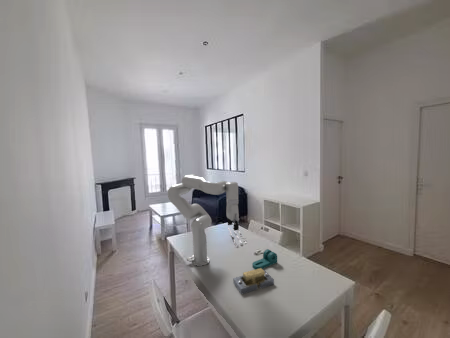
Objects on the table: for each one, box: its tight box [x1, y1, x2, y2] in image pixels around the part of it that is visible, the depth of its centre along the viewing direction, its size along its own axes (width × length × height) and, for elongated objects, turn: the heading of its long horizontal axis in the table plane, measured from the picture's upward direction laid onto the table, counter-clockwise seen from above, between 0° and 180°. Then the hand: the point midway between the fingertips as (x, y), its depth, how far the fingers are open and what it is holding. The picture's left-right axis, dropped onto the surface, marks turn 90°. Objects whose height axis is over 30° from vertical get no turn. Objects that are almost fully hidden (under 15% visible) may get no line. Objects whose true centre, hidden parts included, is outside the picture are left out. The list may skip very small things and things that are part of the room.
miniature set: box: [227, 227, 248, 247], centre depth 184 cm, size 6×35×12 cm
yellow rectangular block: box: [242, 268, 266, 286], centre depth 120 cm, size 12×4×7 cm, turn 111°
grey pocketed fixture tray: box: [232, 269, 275, 295], centre depth 120 cm, size 21×10×4 cm, turn 111°
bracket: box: [251, 248, 278, 270], centre depth 139 cm, size 18×7×8 cm, turn 121°
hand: (233, 227), depth 132 cm, fingers open, 9 cm apart
